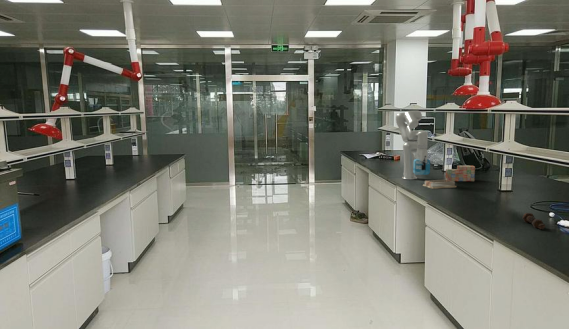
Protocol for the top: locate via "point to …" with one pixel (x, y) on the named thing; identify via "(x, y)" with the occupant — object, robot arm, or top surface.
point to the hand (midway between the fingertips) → (421, 169)
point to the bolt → (533, 221)
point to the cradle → (439, 184)
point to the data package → (418, 167)
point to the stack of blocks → (461, 173)
